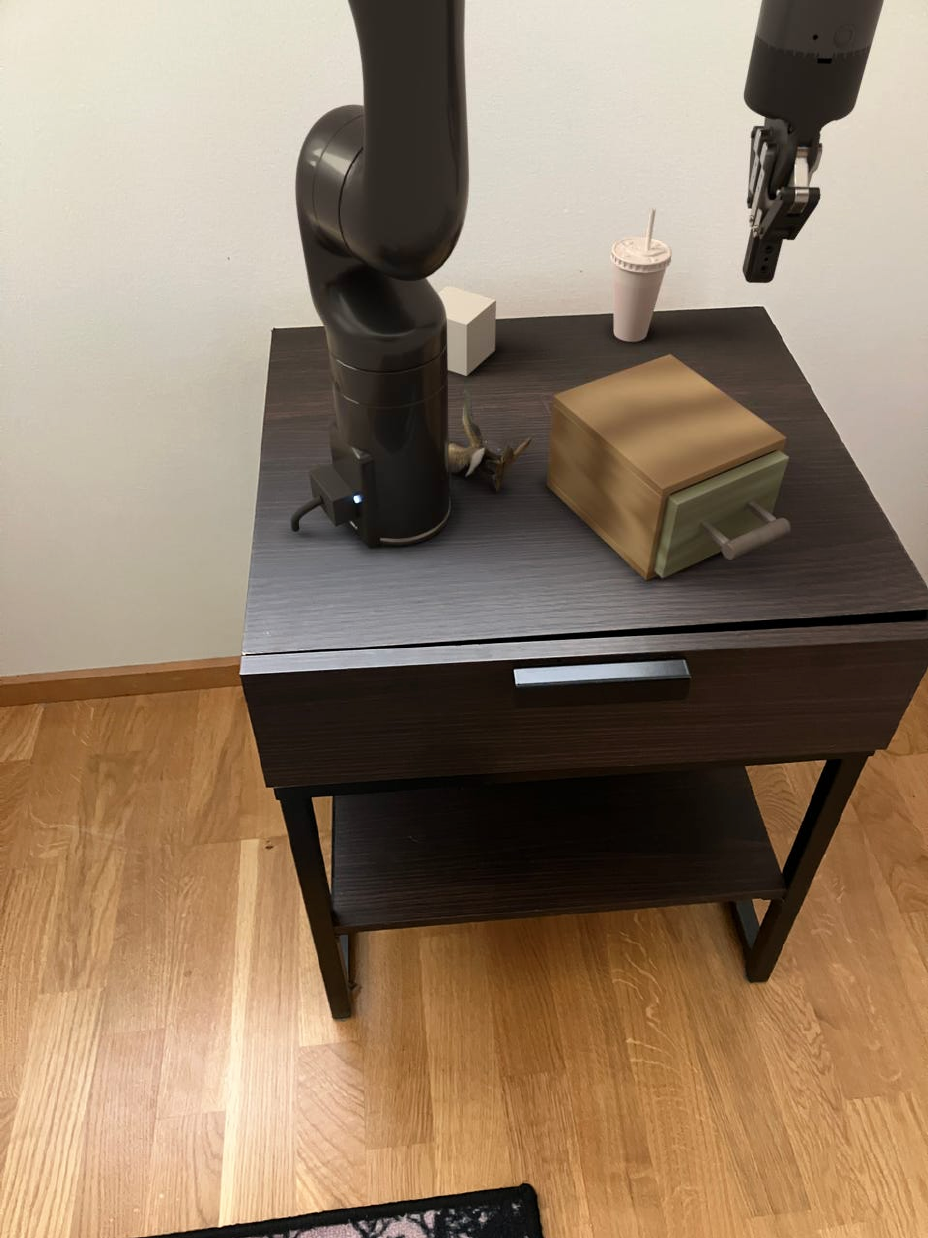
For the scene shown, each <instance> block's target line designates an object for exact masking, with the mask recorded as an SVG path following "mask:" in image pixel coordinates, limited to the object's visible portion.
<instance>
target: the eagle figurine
mask: <svg viewBox="0 0 928 1238" xmlns="http://www.w3.org/2000/svg"><path fill="white" fill-rule="evenodd" d="M462 395H463V397H462V400H463V407H462V416H461V417H462V418H461V420H462V425H463V428H464V431H465V433H466V435H467V437H468V439H469V442H470V445H469V446H468V447H465V446H462V445H459V444H457V443H456V442H452V443H449V466H450V474H451V473H454V474H456V473H458V472H460V471H461V470H462V469H465V468H466V467H469V469H468V471H467V472H466V475H465V477H468V476H469V475H471V474H473V472H474V471H475V469H476V468H477V469H478V470H480V472H482V473H484V474H485V475H487V476H489V477H491V478H492V480H493V485H494V488H495V491H496V492H499V491H500V488H501V483H502V482H503V479H504V477H505V475H506V474H507V472H508V471H509V469H510V467H511V466H512V465H513V464H514V462H515V461H516V460H517V459H518V458H519V457H520V456H521V455H522V453H523V452H524V451H525V450H526V449H527V448H528V447H529V445H530V443H531V441H532V439H533V438H532V437H531V436H529V437H528V438H527V439H526V440H525V441H524V442H523V443H521V444H520V445H519V447H517V448H516V450H515V449H514V448H513V446H512V445H511V444H510V442H508V443H507V444H506V446H505V449H504V451H503V455H500V454H497V453H495V452H493V451H491V450H490V448H489V447H488V446H487V445H486V444H485V443H483V442H484V437H483V433H482V430H481V428H480V427H479V424H478V423H477V422H476V421H475V420H474V418H473V411H472V407H473V406H472V397H471V395H470V393H469V392H468V390H467V389H464V391H463V393H462ZM487 462H489V463H493V464H494V466H495V470H496V471H494V470H493V468H492V467H491V466H489V465H488V464H487Z"/></svg>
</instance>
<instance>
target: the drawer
mask: <svg viewBox="0 0 928 1238" xmlns="http://www.w3.org/2000/svg"><path fill="white" fill-rule="evenodd" d="M789 458H790V456H788V455H787V454H785V452H784V451H783V452H781V451H780V450H778V451H775V452H773V453H770V454H768V455H766V456H763V457H761V458H758V459H756V460H755V459H752V460H750V461H748V462H745V463H743V464H741V465H738V466H736V467H733V468H731V469H729V470H726V471H724V472H721V473H719V474H717V475H714V476H712V477H710V478H707V479H705V480H702V481H700V482H698V483H695V484H693V485H690V486H688V487H686V488H683V489H681V490H678V491H676V492H674V493H671V494H670V496H668V500H667V505H666V510H665V515H664V520H663V525H662V530H661V535H660V540H659V545H658V550H657V556H656V561H655V566H654V571H655V572H656V573H657V574H658V575H657V576H659V577H660V578H662V579H664V578H666V577H668V576H671V575H673V574H675V573H677V572H680V571H682V570H684V569H686V568H688V567H691V566H692V565H695V564H697V563H699V562H702V561H704V560H706V559H708V558H711V557H712V556H714V555H717V554H719V553H722V555H723V557H724V558H725V559H726V560H728V561H732V560H734V559H737V558H739V557H742V556H743V555H746V554H747V553H749V552H752V551H754V550H756V549H758V548H760V547H763V546H764V545H767V544H769V543H771V542H774V541H775V540H778V539H780V538H782V537H784V536H786V535H788V534H789V533H790V532H791V524H790V522H789V521H788V519H787V518H785V517H780V518H776V517H775V516H774V515H773V512H774V509H775V505H776V502H777V499H778V495H779V492H780V489H781V485H782V482H783V479H784V476H785V472H786V469H787V466H788V462H789V460H790V459H789Z"/></svg>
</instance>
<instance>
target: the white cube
mask: <svg viewBox="0 0 928 1238" xmlns="http://www.w3.org/2000/svg"><path fill="white" fill-rule="evenodd" d="M437 293H438V295H439V296H440V298H441V300H442V302H443V304H444V307H445V310H446V316H447V352H448V371H449V372H453V373H456V374H459V375H462V376H464V377H467V376H469V375H470V373H472V372H473V371H474V370H475V369H476V368H477V367H479V365H481V364H482V363H483V362H484V361H485V360H486V359H487V358H488V357H490V356H491V355H492V354H493V353H494V352H495V351H496V320H497V319H496V318H497V300H496V299H495V298H490V297H487V296H485V295H482V294H477V293H474V292H471V291H469V290H465V289H462V288H459V287H458V288H457V287H454V286H450V285H446V287H444V288H443V289H442V290H440V291H439V292H437Z"/></svg>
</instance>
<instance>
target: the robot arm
mask: <svg viewBox="0 0 928 1238" xmlns="http://www.w3.org/2000/svg"><path fill="white" fill-rule="evenodd" d="M884 1H885V0H761V3H760V7H759V12H758V18H757V23H756V28H755V33H754V38H753V44H752V47H751V48H752V49H751V53H750V59H749V64H748V69H747V74H746V80H745V85H744V90H743V101H744V103H745V105H746V106H747V107H748V109H749V110H750V111H752V112H753V113H755V114H757V115H759V116H761V117H764V121H763V125H754V126H753V128H752V130H751V132H750V153H749V154H750V156H749V171H748V187H747V198H746V204H747V209H749V210H750V209H751V210H750V215H749V217H748V222H749V228H750V232H749V238H748V241H747V246H746V250H745V254H744V259H743V264H742V268H741V269H742V273H743V277H744V279H745V281H746V282H747V283H749V284H769V283H771V282H772V281H773V280H774V277H775V275H776V270H777V267H778V262H779V258H780V254H781V251H782V246H783V242H784V240H786V241H795V240H796V238H797V237H798V235H799V234H800V232H801V231H802V229H803V227H804V226H805V225H806V223H807V221H808V220H809V218H810V217H811V216H812V214H813V212H814V211H815V209H816V208H817V206H818V204H819V202H820V200H821V187H819V186H810V185H811V182H812V178H813V175H814V173H815V172H816V171H817V170H818V168H819V166H820V162H821V158H822V155H823V149H824V148H823V143H822V142H820V141H821V135H822V134H821V131H823V128H824V127H825V126H826V125H828V124H830V123H832V122H834V121H835V122H838V121H840V120H843V119H844V118H846V117H847V116H849V115H850V114H851V113H852V112H853V110H854V109H855V106H856V105H857V104H856V103H857V100H858V96H859V92H860V89H861V85H862V82H863V78H864V75H865V72H866V68H867V64H868V60H869V56H870V52H871V50H872V47H873V42H874V39H875V35H876V31H877V28H878V24H879V20H880V16H881V13H882V10H883V5H884ZM347 3H348V7H349V10H350V13H351V16H352V20H353V25H354V28H355V33H356V37H357V42H358V43H357V44H358V48H359V56H360V62H361V76H362V88H363V89H362V98H363V99H362V101H363V104H362V105H361V104H345V105H341V106H338V107H335V108H333V109H331V110H329V111H327V112H326V113H324V114H323V115H321V117H319V119H317V121H316V122H315V123H314V124H313V125H312V127H311V128H310V129H309V131H308V133H307V135H306V136H305V138H304V140H303V143H302V145H301V146H300V147H301V148H300V150H299V154H298V157H297V163H296V169H295V181H294V195H295V207H296V216H297V222H298V230H299V235H300V236H299V237H300V241H301V246H302V247H301V248H302V253H303V259H304V266H305V270H306V277H307V282H308V288H309V293H310V296H311V301H312V304H313V307H314V309H315V311H316V314H317V315H318V317H319V319H320V321H321V323H322V325H323V327H324V330H325V336H326V343H327V348H328V349H327V350H328V357H329V367H330V375H331V384H332V386H331V387H332V393H333V403H334V411H335V420H333V421H330V422H329V423H328V425H327V428H328V435H329V445H330V454H331V461H332V463H329V464H326V465H323V466H320V467H318V468H314V469H312V470H309V471H308V474H309V482H310V488H311V494H312V498H313V499H312V500H310V501H308V502H306V503H305V504H303V505H301V506H300V507H299V508H298V509H297V510H295V512H294V513H293V515H292V516H291V518H290V529H291V531H292V532H293V533H297V532H299V531H300V520H301V519H302V518H303V517H304V516H306V515H307V514H308V513H310V512H312V511H313V510H315V509H317V508H318V507H320V508H321V509H322V511H323V512H324V513H325V514H326V516H327V517H328V518H329V520H330V521H331V522H332V523H333V525H334V526H335V527H339V526H341V525H344V524H347V523H348V525H349V527H350V529H351V530H352V531H354V533H356V535H357V536H358V537H359V539H360V540H361V541H362V542H363V544H364V545H365V546H366V547H367V548H369V549H372V548H374V547H378V546H381V545H382V546H390V547H391V546H393V547H401V546H402V547H403V546H411V545H414V544H418V543H421V542H424V541H426V540H429V539H431V538H432V537H434V536H436V535H438V533H440V532H441V531H442V530H443V529H444V528H445V527H446V526H447V524H448V522H449V520H450V517H451V514H452V513H451V512H452V501H451V497H450V496H451V489H450V480H451V473H450V466H449V444H450V439H449V438H450V437H449V435H450V433H449V431H450V430H449V427H450V426H449V370H448V352H447V316H446V310H445V307H444V304H443V302H442V300H441V298H440V296H439V295H438V293H439V292H437V291H436V289H435V287H433V285H432V284H431V282H430V281H429V279H428V278H429V277H430V276H433V275H435V273H436V272H437V271H439V270H440V269H441V268H442V267H443V266H444V265H445V263H446V262H447V261H448V260H449V259H450V257H451V256H452V254H453V252H454V250H455V248H456V247H457V244H458V242H459V240H460V238H461V234H462V231H463V229H464V225H465V221H466V216H467V212H468V211H467V210H468V204H469V196H470V154H469V151H470V150H469V131H468V129H469V128H468V105H467V83H466V81H467V80H466V77H467V76H466V46H465V45H466V43H465V42H466V41H465V40H466V39H465V38H466V37H465V35H466V34H465V31H466V30H465V27H466V26H465V24H466V0H347Z"/></svg>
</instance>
